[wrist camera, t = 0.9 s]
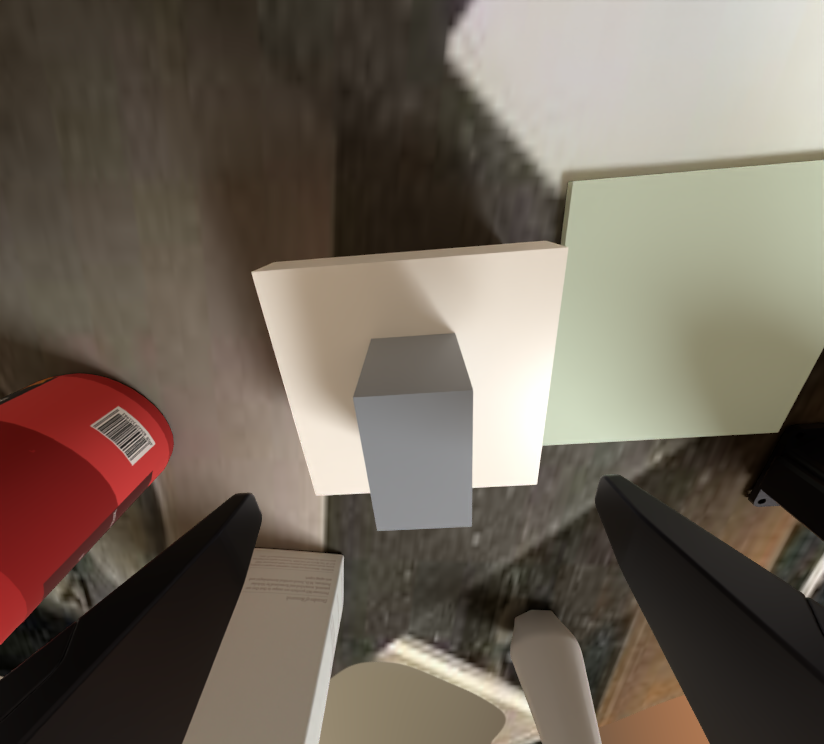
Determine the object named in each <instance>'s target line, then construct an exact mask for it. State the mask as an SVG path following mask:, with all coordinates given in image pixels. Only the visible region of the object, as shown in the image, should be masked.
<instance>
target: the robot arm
mask: <svg viewBox="0 0 824 744" xmlns="http://www.w3.org/2000/svg"><path fill="white" fill-rule="evenodd" d="M748 500H749V501H750V502H751V503H752V504H753V505H754V506H757V507H763V506H781V507H782V508H784V509H785V510H786V511H787V512H788V513H790V514H791V515H792V516H793V517H795V518H796V519H797V520H798V521H799V522H801V523H802V524H803V525H804V526H805V527H807V528H808V529H809V530H810V531H811V532H813V533H814V534H815V535H816V536H817V537H819V538H820V539H821V540H822V541H824V423H820V424H802V425H793V426H791V427H789V428H788V429H786V431H785V432H784V434H783V435H782V437H781V439H780V441H779V443H778V445H777V446H776V448H775V450H774V452H773V454H772V456H771V457H770V459H769V461H768V463H767V465H766V466H765V468H764V470H763V472H762V474H761V476H760V477H759V479H758V481H757V483H756V485H755V487H754V488H753V490H752V492H751V494H750V496H749V498H748ZM595 504H596V508H597V511H598V513H599V516H600V518H601V521H602V523H603V526H604V528H605V531H606V533H607V536H608V538H609V541H610V544H611V546H612V549H613V551H614V554H615V556H616V559H617V561H618V564H619V566H620V568H621V570H622V572H623V575H624V577H625V579H626V581H627V583H628V585H629V587H630V588H631V590H632V592H633V594H634V596H635V598H636V600H637V602H638V604H639V606H640V608H641V610H642V612H643V614H644V616H645V618H646V620H647V622H648V624H649V626H650V628H651V630H652V631H653V633H654V635H655V637H656V639H657V641H658V643H659V645H660V647H661V649H662V651H663V653H664V655H665V657H666V659H667V661H668V663H669V665H670V667H671V669H672V671H673V672H674V674H675V676H676V678H677V680H678V682H679V684H680V686H681V688H682V690H683V692H684V694H685V696H686V698H687V700H688V702H689V704H690V706H691V708H692V710H693V711H694V713H695V715H696V717H697V719H698V721H699V723H700V725H701V727H702V729H703V731H704V733H705V735H706V737H707V739H708V741H709V743H710V744H824V607H823V606H822V605H820V604H819V603H817V602H815V601H814V600H812V599H811V598H806V597H805V595H804V594H803V593H801V592H800V591H798V590H797V589H795V588H794V587H792V586H791V585H789V584H787V583H786V582H784V581H783V580H781V579H780V578H778V577H777V576H775V575H774V574H772V573H771V572H769V571H767V570H766V569H764V568H763V567H761V566H760V565H758V564H757V563H755V562H754V561H752V560H751V559H749V558H747V557H746V556H744V555H743V554H741V553H740V552H738V551H737V550H735V549H734V548H732V547H730V546H729V545H727V544H726V543H724V542H723V541H721V540H720V539H718V538H717V537H715V536H714V535H712V534H710V533H709V532H707V531H706V530H704V529H703V528H701V527H700V526H698V525H697V524H695V523H694V522H692V521H690V520H689V519H687V518H686V517H684V516H683V515H681V514H680V513H678V512H677V511H675V510H673V509H672V508H670V507H669V506H667V505H666V504H664V503H663V502H661V501H660V500H658V499H657V498H655V497H653V496H652V495H650V494H649V493H647V492H646V491H644V490H643V489H641V488H640V487H638V486H637V485H635V484H633V483H632V482H630V481H629V480H627V479H626V478H624V477H623V476H621V475H617V474H614V475H603V476H601V477H600V480H599V484H598V488H597V492H596V496H595ZM261 522H262V514H261V511H260V509H259V506H258V504H257V502H256V499H255V497H254V495H253V494H252V493H237V494H235V495H233V496H232V497H231V498H229V499H228V500H227V501H226V502H224V503H223V504H222V505H221V506H219V507H218V508H217V509H216V510H214V511H213V512H212V513H211V514H209V515H208V516H207V517H206V518H204V519H203V520H202V521H201V522H199V523H198V524H197V525H196V526H194V527H193V528H192V529H190V530H189V531H188V532H187V533H185V534H184V535H183V536H182V537H180V538H179V539H178V540H177V541H175V542H174V543H173V544H172V545H170V546H169V547H168V548H167V549H165V550H164V551H163V552H162V553H160V554H159V555H158V556H157V557H155V558H154V559H153V560H152V561H150V562H149V563H148V564H147V565H145V566H144V567H143V568H142V569H140V570H139V571H138V572H137V573H135V574H134V575H133V576H132V577H130V578H129V579H128V580H127V581H125V582H124V583H123V584H122V585H120V586H119V587H118V588H117V589H115V590H114V591H113V592H112V593H110V594H109V595H108V596H107V597H105V598H104V599H103V600H102V601H100V602H99V603H98V604H97V605H95V606H94V607H93V608H92V609H90V610H89V611H88V612H87V613H85V614H84V615H83V616H82V617H80V618H79V620H78V622H74V623H73V624H71V625H70V626H69V627H68V628H66V629H65V630H64V631H63V632H61V633H60V634H59V635H58V636H56V637H55V638H54V639H53V640H51V641H50V642H49V643H48V644H46V645H45V646H44V647H42V648H41V649H40V650H39V651H37V652H36V653H35V654H33V655H32V656H31V657H30V658H28V659H27V660H26V661H25V662H23V663H22V664H21V665H19V666H18V667H17V668H16V669H14V670H13V671H12V672H10V673H9V674H8V675H6V676H5V677H3V678H2V679H1V680H0V744H182V743H183V741H184V738H185V736H186V733H187V730H188V728H189V725H190V723H191V720H192V718H193V715H194V712H195V710H196V707H197V705H198V702H199V699H200V697H201V694H202V692H203V689H204V686H205V684H206V681H207V679H208V676H209V674H210V671H211V668H212V666H213V663H214V661H215V658H216V655H217V653H218V650H219V648H220V645H221V643H222V640H223V637H224V635H225V632H226V630H227V627H228V624H229V622H230V619H231V617H232V614H233V611H234V609H235V606H236V604H237V601H238V599H239V596H240V593H241V591H242V588H243V585H244V582H245V579H246V576H247V572H248V569H249V565H250V562H251V558H252V555H253V551H254V547H255V544H256V540H257V537H258V533H259V530H260V526H261Z"/></svg>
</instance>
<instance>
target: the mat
mask: <svg viewBox="0 0 824 744" xmlns="http://www.w3.org/2000/svg"><path fill="white" fill-rule="evenodd" d="M561 245H563V246H566V247H569V248H568V256H567V263H566V271H565V278H564V286H563V293H562V301H561V308H560V315H559V323H558V330H557V338H556V345H555V353H554V360H553V368H552V375H551V383H550V390H549V398H548V405H547V413H546V420H545V427H544V435H543V442H542V446H543V445H561V444H579V443H597V442H615V441H633V440H651V439H669V438H687V437H705V436H724V435H742V434H760V433H778V432H779V430H780V428H781V426H782V424H783V422H784V421H785V419H786V417H787V415H788V413H789V411H790V409H791V408H792V406H793V404H794V402H795V400H796V398H797V396H798V395H799V393H800V391H801V389H802V387H803V385H804V383H805V382H806V380H807V378H808V376H809V374H810V372H811V370H812V369H813V367H814V365H815V363H816V361H817V359H818V357H819V356H820V354H821V352H822V350H823V348H824V160H816V161H804V162H792V163H781V164H769V165H757V166H745V167H734V168H722V169H710V170H699V171H687V172H675V173H663V174H652V175H640V176H628V177H616V178H605V179H593V180H581V181H571V182H568V188H567V196H566V204H565V212H564V220H563V229H562V237H561Z"/></svg>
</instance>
